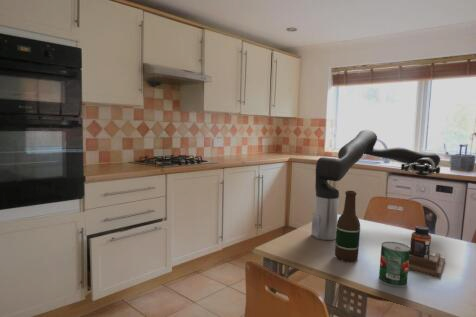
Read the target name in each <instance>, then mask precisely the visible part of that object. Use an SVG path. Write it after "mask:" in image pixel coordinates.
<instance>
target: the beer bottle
mask: <svg viewBox="0 0 476 317" xmlns="http://www.w3.org/2000/svg"><path fill="white" fill-rule="evenodd" d="M344 194H345V200H344V207H343V212H342V214H340V216H339V217H338V218H337V229H336V238H335V247H334V256H335V258H336V259H337V260H339V261H342V262H345V263H355V262H356V261H357V260H358V259H359V249H360V248H359V247H360V237H361V236H360V235H361V224H360V223H361V222H360V220H359V217H358V216H357V214H356V213H357V212H356V197H357V192H356V191H354V190H346V191H345V193H344Z"/></svg>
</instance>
